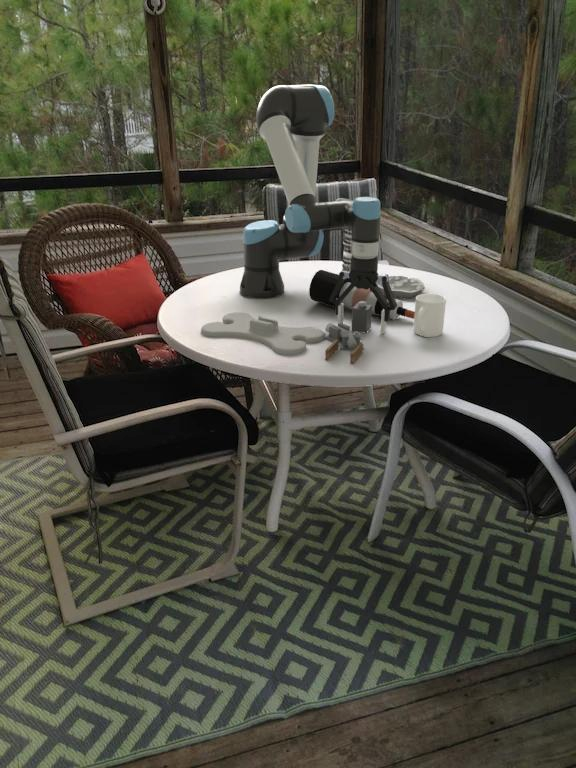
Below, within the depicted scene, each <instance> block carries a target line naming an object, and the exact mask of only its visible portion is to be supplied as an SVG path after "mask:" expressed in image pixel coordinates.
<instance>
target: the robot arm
mask: <svg viewBox="0 0 576 768" xmlns="http://www.w3.org/2000/svg"><path fill="white" fill-rule="evenodd" d="M255 113H256V115H255V116H256V117H255V119H256V120H255V121H256V126H257V130H258V133H259V135H260V137H261V138H262V139H263V140H265V143H266V144H267V148H268V149H269V153H270V155H271V158H272V161H273V164H274V167H275V170H276V172H277V175H278V179H279V181H280V184H281V186H282V189H283V191H284V194H285V197H286V200H287V203H288V204H287V205H288V206H287V207H286V209H285V213H284V215H283V218H282V223H281V224H279V222H278V221H277V220H274V219H268V220H265V219H264V220H263V219H262V220H258V221H257V220H256V221H253V222H251V223H249V224H247V225H246V226H244V229H243V233H242V244H243V245H242V246H243V266H244V268H243V269H244V270H243V274H242V278H241V281H240V284H239V294H240V295H241V296H243V297H245V298H248V299H249V298H250V299H256V300H257V299H259V300H261V299H262V300H266V299H272V298H277V297H280V296H282V295H283V294H284V293H285V283H284V281H283V278H282V275H281V272H280V263H279V262H280V261H283V260H284V261H285V260H293V259H306V258H308V257H314V256H316V255H317V254H318V253H319V252H320V251H321V250H322V247H323V244H324V237H325V235H324V231H327V230H328V231H330V230H338V229H343V228H348V229H351V230H352V240H351V254H352V257H351V270H350V272H346V271H345V270H342V269H341V271H340V272H339V273H338V275H339V280H338V282H337V284H336V286H335V288H334V290H333V292H332V294H331V296H330V299H329V302H332V303H334V304H335V307H334V315H335V316H337V326H338V324H339V323H343V324H344V311H345V310H344V308H345V307H344V303H341V302H342V300H343V299H344V298H345V297H346V296H347V295H348V294H349V292H350V291H351V290H352V289H353V288H354V287H356V288H358V289H361V288H363V289H366V290H368V289H370V291H371V292H373V294H374V295H375V297H376V298H377V300H378V301H379V303H380V304H381V306H382V307H383V310H382V314H381V316H380V317H381V319H380V334H385V332H386V330H387V323H388V322H389V321H390V310H394V309H395V308H396V307H397V303H396V301H395V299H396V298H395V297H394V295H393V293H392V290H391V287H390V285H389V274H387V273H386V274H384V275H383V274H382V275H381V274H380V275H379V273H378V268H379V267H378V265H379V257H378V255H379V249H380V248H379V247H380V246H379V245H380V230H381V229H380V227H381V215H382V212H381V200H380V199H378V198H377V197H371V196H359V197H356V198H354V199H353V200H352V199H350V198H347V197H345V198H344V197H340V198H336V199H335V200H333V201H323V202H317V199H316V192H317V180H318V179H317V178H318V165H319V155H320V154H319V151H320V141H321V139H322V138H323V137H324V136H325V135H326V127H327V128H328V127H329V126H331V125H332V124H333V121H334V120H335V103H334V99H333V97H332V94H331V91H330V90H329V89H328V88H327V87H326V86H325V85H323V84H322V85H321V84H293V85H292V84H291V85H289V84H288V85H285V84H282V85H281V84H279V85H275V86H273V87H271V88H270V89H269V90H267V91H266V92H265V93H264V94H263V96H262V97H261V99H260V101H259V103H258V106H257V109H256V112H255ZM348 276H349V277H348ZM347 277H348V278H350V279H351V281H352V283H351V284H350V285H349V286H348V288H347V289H346V290H345V291H344V292H343V293H342V295H341V296H340V297H339V298H338V299H337V298H336V297H337V295H338V293H339V291H340V289H341V287H342V285H343V283H344V280H345V279H346V278H347ZM377 280H380V283H382V286H383V289H384V292H385V294H386V297H387V300H388V301H387V300H386V298H385V297H384V295H383V294H382V292H381V291H380V289H379V288H378V285H377V284H376V281H377ZM388 302H389V303H388ZM338 327H339V326H338Z"/></svg>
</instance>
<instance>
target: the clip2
mask: <svg viewBox="0 0 576 768" xmlns="http://www.w3.org/2000/svg"><path fill="white" fill-rule="evenodd" d="M360 343H363V341H361V332H355V331H354V332H353V331H350V333H347V332H343V335H342V342H339V348H338V350H339V351H353V350H354V349H355V348H356V347H357V346H358V345H359V344H360ZM363 351H364V347H363Z"/></svg>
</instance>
